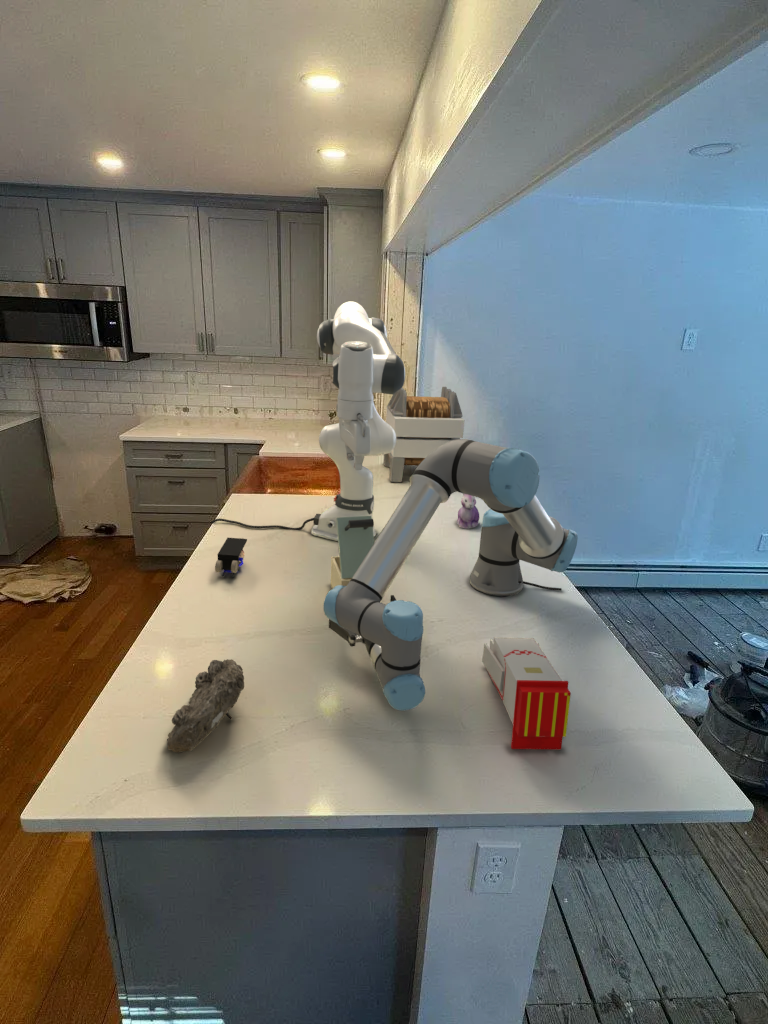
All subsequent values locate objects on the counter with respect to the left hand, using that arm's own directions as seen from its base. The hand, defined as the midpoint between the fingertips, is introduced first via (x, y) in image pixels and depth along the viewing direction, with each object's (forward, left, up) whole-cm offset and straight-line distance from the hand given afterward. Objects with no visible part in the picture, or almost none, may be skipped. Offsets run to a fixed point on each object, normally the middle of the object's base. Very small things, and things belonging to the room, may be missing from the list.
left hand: (353, 464), depth 145 cm
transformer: (-9, +127, -37) cm, 133 cm away
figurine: (+23, +66, -37) cm, 79 cm away
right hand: (+9, -16, -30) cm, 35 cm away
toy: (+47, -32, -37) cm, 68 cm away
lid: (+3, -4, -21) cm, 21 cm away
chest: (+1, -2, -37) cm, 37 cm away
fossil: (-8, -56, -37) cm, 68 cm away
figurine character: (-38, +2, -37) cm, 53 cm away
